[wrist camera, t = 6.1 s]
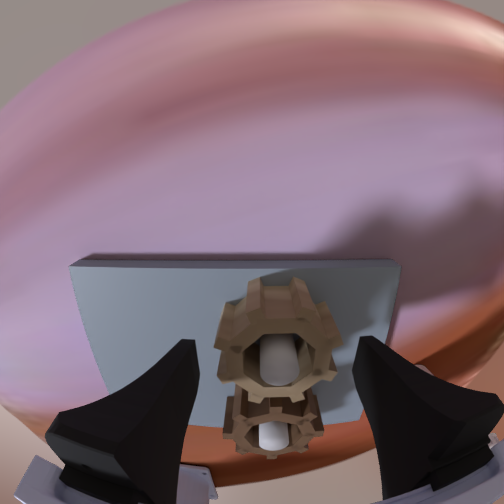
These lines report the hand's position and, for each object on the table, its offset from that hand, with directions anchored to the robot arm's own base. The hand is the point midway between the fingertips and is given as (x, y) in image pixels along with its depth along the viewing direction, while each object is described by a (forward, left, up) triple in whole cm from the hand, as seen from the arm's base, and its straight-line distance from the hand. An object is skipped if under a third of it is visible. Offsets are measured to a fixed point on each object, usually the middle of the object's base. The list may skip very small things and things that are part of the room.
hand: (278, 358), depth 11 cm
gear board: (-3, +2, -4) cm, 5 cm away
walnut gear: (-6, 0, -3) cm, 6 cm away
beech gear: (0, 0, -3) cm, 3 cm away
